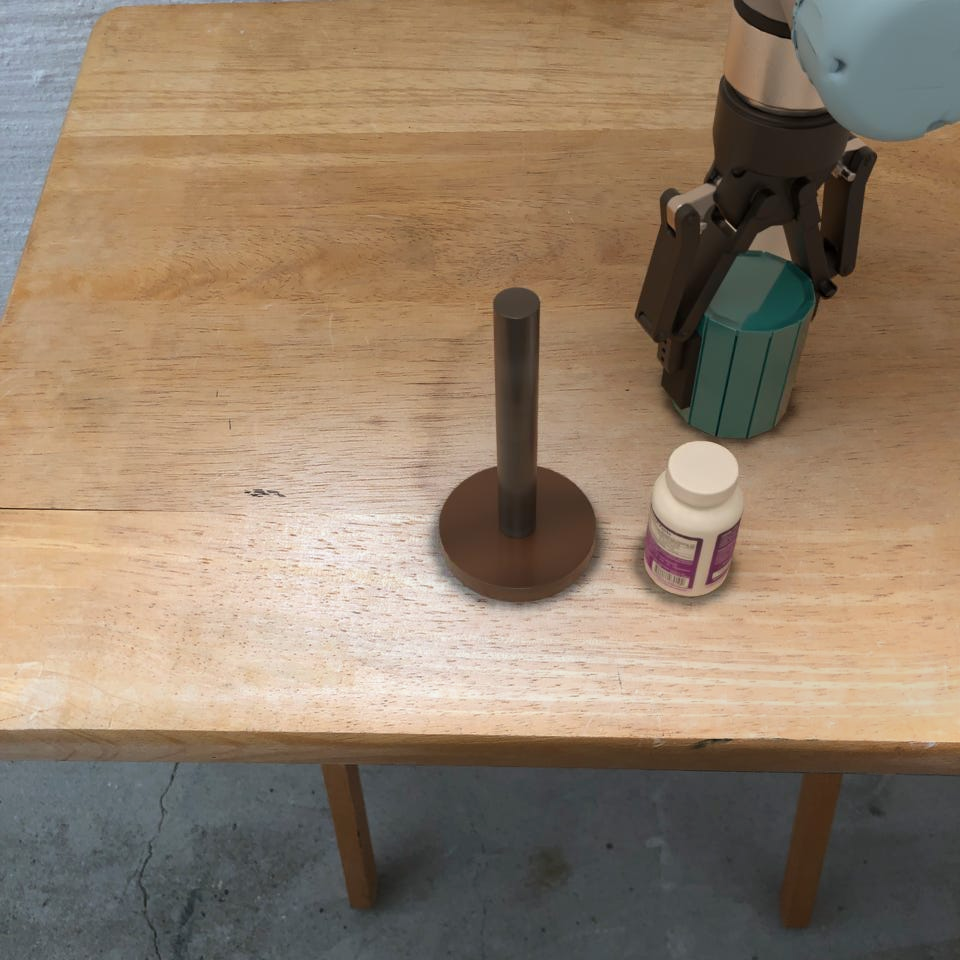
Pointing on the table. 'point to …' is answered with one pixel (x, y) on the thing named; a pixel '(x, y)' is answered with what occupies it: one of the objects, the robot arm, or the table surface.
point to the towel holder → (517, 484)
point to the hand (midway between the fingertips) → (728, 375)
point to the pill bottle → (694, 519)
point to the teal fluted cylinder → (750, 346)
